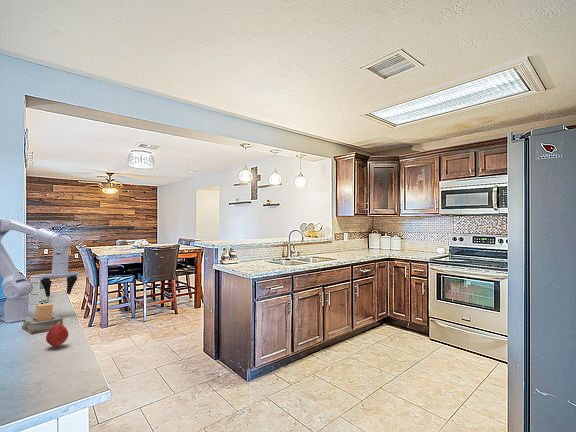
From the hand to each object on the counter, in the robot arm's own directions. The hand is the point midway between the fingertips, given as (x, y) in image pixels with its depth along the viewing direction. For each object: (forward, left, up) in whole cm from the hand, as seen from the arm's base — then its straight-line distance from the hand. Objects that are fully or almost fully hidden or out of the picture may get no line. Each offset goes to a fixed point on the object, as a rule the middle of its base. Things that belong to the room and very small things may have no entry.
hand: (58, 295), depth 136 cm
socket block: (+12, -9, -10) cm, 17 cm away
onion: (+38, -13, -10) cm, 41 cm away
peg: (+12, -9, -9) cm, 17 cm away
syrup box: (-38, +5, -10) cm, 40 cm away
